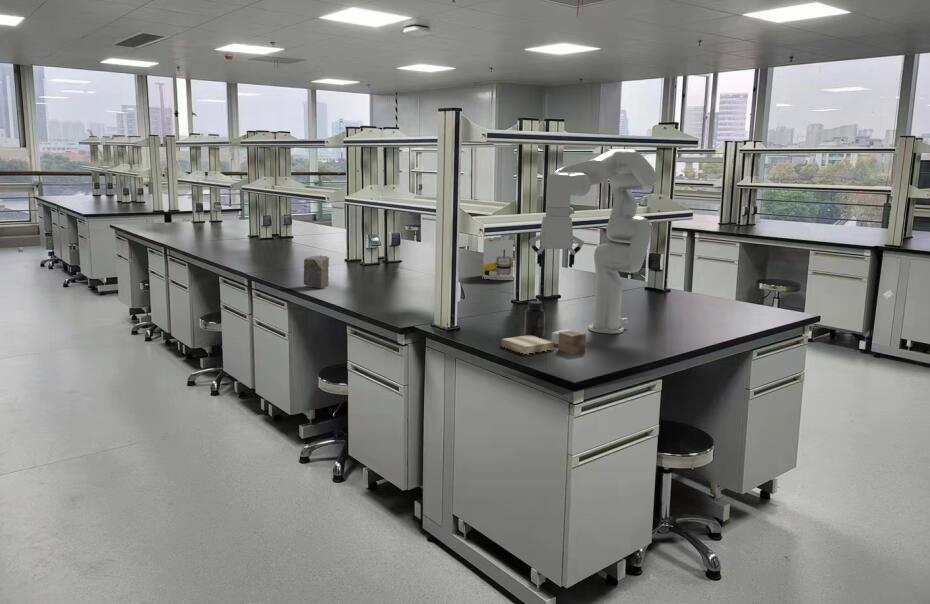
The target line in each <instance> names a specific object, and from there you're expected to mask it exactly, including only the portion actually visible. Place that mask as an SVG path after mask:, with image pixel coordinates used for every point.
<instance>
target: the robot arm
mask: <svg viewBox="0 0 930 604" xmlns="http://www.w3.org/2000/svg"><path fill="white" fill-rule="evenodd" d="M656 179H657V174H656V171H655V168H654V167H653V166H652V165H651V164H650V162H649V161H648V160H647V159H646V158H645V156H644V155H642V154H641V153H640V152H639V151H638V150H635V149H610V150H607V151H605V152H603V153H601V154H599V155H597V156H595V157H593V158H592V159H589V160H584V161H581V162H578V163H574V164H573V163H572V164H569V165H566V166H563V167H559V168H558V169H557V170H554V171H553V172H552V173H549V174H548V175H547V177H546V193H545V194H546V195H545V196H546V198H545V216H543V217H542V220H541V224H540V225H541V226H540V234H539V235H537V236H534V237H533V238H530V239H529V241H528V242H529V244H530V247H531V248H532V250H533V251H534V252H535V253H536V254H537V255H536V257H537V258H536V263H537V264H536V265H538V266H539V268H541V267H542V266H543V254H542V253H543V251H545V249H547V250H549V249H550V250H551V249H552V250H568V251H569V252H570V254H569V255H568V257H569V258H568V267H569V268H570V269H572V268H573V266H574V265H575V256H576V254H577V253H578V252H579V251H581V249H582V248H583V246H584V244H585V242H584V240H583V239H580V238H578V237H577V236H575V235H574V233H573V219H572V217H571V215H572V214H575V209H573V208H571V197H584V196H585V195H587V194H588V193H589V192H590V190H591V187H592V186H596V185H599V184H602V183H604V182H605V181H607V180H608V182H609V186H610V189H611V192H612V195H613V196H612V197H613V204H612V208H611V211H610V216H609V218H608V219H609V220H608V222H607V227H606V230H605V235H606V238H607V239H609V240H610V241H612V242H618V243H612V242H611V243H610V242H606V243H601V244H599V245H598V246H596V248H595V250H594V253H593V259H594V260H593V261H594V268H595V269H594V270H595V285H594V298H593V299H594V301H593V319H592V323H591V324H589V325H588V330H589V331H591V332H595V333H599V334H609V335H610V334H611V335H612V334H613V335H614V334H621V333H623V332H624V331H625V329H624V327H623V326H622V325H623V324H628V323H629V319H628V318H627V317H621V308H622V307H621V306H622V294H623V280H622V277H621V275H620V273H619V272H621V273H631V274H632V273H633V274H634V273H637V272H639V271H640V270H641V269H642V266H643V264H644V260H645V257H646V254H647V250H648V247H649V244H650V240H651V236H652V225H651V222H650V220H649V219H648V218H646V217H644V216H637V215H636V213H637V210H638V202H637V198H636V197H635V195H634V193H633V192H632V190H633V191H635V190H636V191H648V190H650V189H652V188H653V187H654V185H655V184H656V181H657V180H656ZM537 241H539V244H540V246H539V247H537V246H536V244H535V243H536V242H537ZM574 242H576V243H577V245H576V247H575V248H573V245H574ZM621 243H625V244H621ZM626 243H627V244H626Z"/></svg>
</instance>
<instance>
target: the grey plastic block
mask: <svg viewBox="0 0 930 604" xmlns="http://www.w3.org/2000/svg"><path fill="white" fill-rule="evenodd" d="M565 331H572V330H571V329H567V328H564V329H561V330H560V329H559V330H556V331H553V332H551V342H554V345H556V344H559V332H565ZM576 331H577V332H580V333H584V334H586V332H582V331H578V330H576Z"/></svg>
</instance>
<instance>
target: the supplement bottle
mask: <svg viewBox="0 0 930 604" xmlns="http://www.w3.org/2000/svg"><path fill="white" fill-rule="evenodd" d="M527 307H528V308H527V309H526V310H525V311H524V336H525V335H532V336H536V337H540V338H544V337H545V320H546V312H545V310H543V302H542V301H540V300H530V301H528V305H527Z"/></svg>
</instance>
